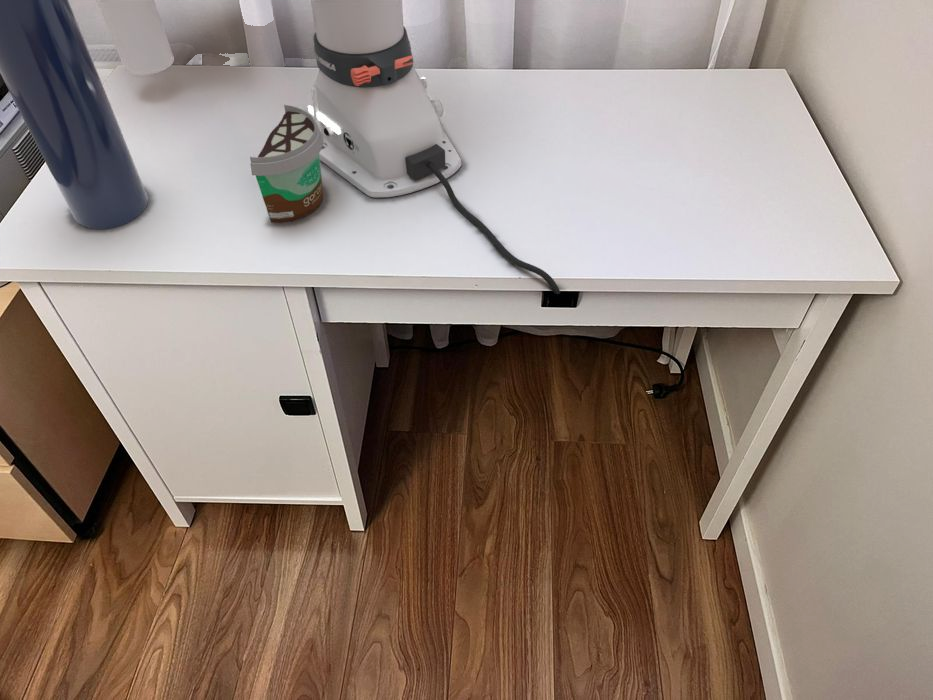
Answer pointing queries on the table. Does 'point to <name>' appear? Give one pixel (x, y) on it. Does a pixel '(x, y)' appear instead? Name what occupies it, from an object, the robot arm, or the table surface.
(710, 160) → the table surface
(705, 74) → the table surface
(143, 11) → the cylindrical container
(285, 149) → the food container
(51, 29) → the vase
